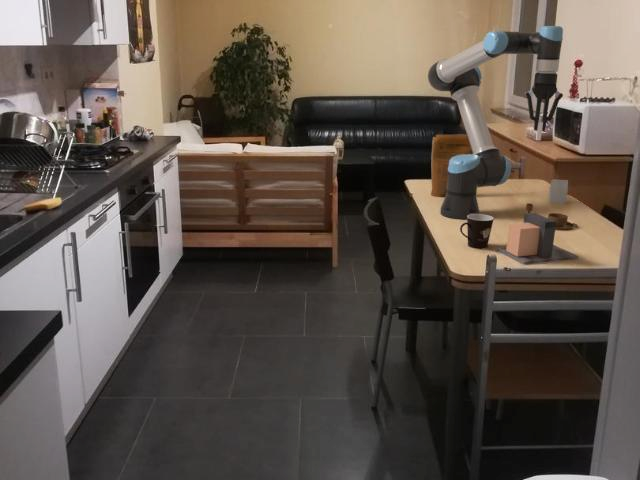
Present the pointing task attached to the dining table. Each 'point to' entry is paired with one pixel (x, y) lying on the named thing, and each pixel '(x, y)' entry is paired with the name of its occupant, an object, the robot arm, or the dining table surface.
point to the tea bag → (558, 191)
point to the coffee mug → (478, 230)
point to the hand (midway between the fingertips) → (538, 139)
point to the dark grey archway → (543, 233)
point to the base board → (557, 255)
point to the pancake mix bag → (445, 159)
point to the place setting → (556, 219)
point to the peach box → (523, 239)
